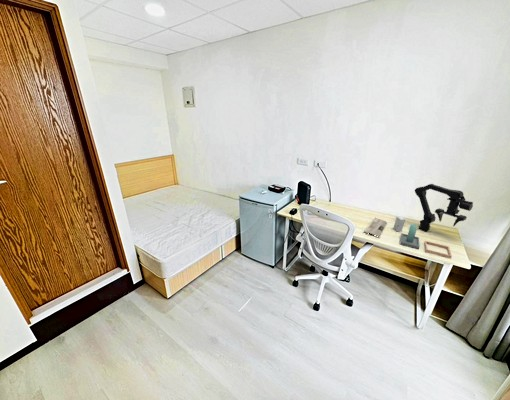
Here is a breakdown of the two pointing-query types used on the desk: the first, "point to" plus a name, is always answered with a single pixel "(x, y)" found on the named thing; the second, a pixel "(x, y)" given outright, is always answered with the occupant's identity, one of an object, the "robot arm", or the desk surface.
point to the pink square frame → (438, 252)
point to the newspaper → (376, 227)
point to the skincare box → (399, 224)
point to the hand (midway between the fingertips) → (446, 223)
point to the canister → (411, 233)
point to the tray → (414, 244)
